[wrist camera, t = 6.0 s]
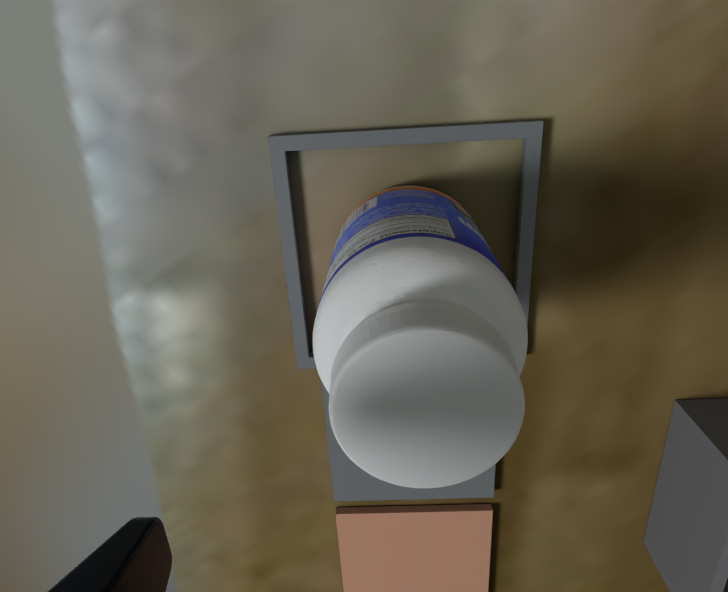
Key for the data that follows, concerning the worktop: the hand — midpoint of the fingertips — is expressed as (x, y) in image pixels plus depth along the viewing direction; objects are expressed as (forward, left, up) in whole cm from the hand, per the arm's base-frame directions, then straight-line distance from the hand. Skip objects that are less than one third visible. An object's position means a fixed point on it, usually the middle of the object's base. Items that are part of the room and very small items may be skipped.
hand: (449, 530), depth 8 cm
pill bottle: (0, 0, -13) cm, 13 cm away
